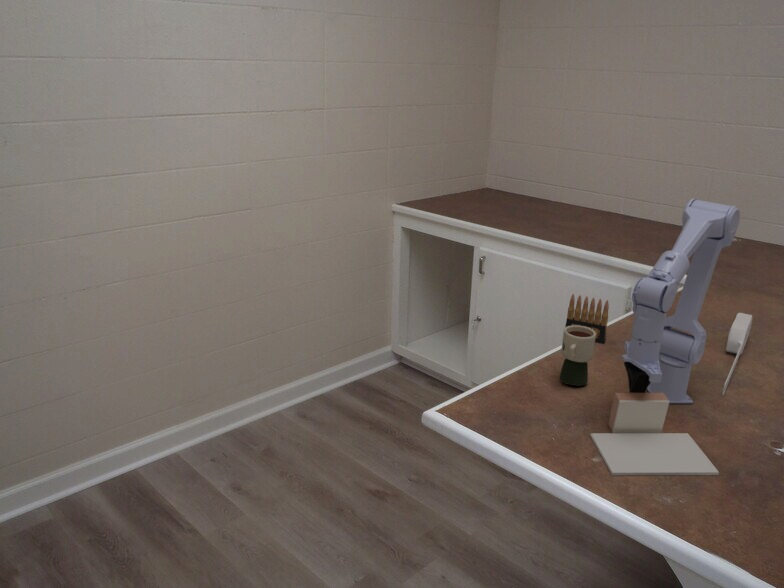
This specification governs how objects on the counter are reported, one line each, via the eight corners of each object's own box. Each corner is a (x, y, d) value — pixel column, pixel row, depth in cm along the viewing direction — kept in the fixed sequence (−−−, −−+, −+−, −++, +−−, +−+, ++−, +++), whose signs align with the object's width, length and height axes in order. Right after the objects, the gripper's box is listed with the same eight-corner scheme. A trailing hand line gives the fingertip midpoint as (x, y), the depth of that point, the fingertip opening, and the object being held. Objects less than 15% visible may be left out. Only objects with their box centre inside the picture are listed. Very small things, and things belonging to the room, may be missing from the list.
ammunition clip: (605, 341, 178) (611, 299, 174) (604, 344, 177) (610, 301, 172) (565, 333, 183) (570, 292, 178) (563, 335, 181) (568, 294, 177)
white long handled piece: (701, 400, 155) (720, 405, 153) (707, 370, 152) (727, 375, 150) (732, 333, 184) (748, 337, 181) (737, 306, 180) (754, 310, 178)
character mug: (565, 369, 163) (572, 319, 158) (595, 376, 159) (602, 326, 155) (550, 387, 154) (556, 335, 149) (581, 396, 151) (588, 343, 146)
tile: (608, 424, 140) (615, 392, 136) (655, 424, 140) (663, 392, 136) (612, 433, 137) (620, 401, 133) (661, 433, 137) (669, 401, 134)
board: (590, 435, 136) (590, 433, 135) (687, 435, 136) (687, 433, 136) (612, 475, 124) (612, 472, 123) (718, 475, 124) (719, 472, 124)
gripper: (614, 321, 139) (605, 379, 144) (640, 352, 126) (629, 415, 131) (647, 322, 140) (637, 379, 145) (677, 353, 126) (664, 415, 131)
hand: (635, 396), depth 138 cm, fingers closed
